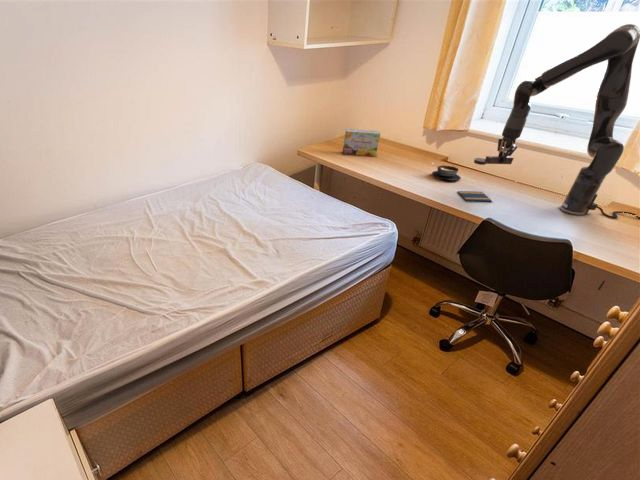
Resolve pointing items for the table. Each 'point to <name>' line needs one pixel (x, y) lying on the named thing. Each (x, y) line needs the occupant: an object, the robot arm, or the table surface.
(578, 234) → the table surface
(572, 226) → the table surface
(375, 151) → the snack box
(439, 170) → the black cup and saucer
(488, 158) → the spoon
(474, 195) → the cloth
